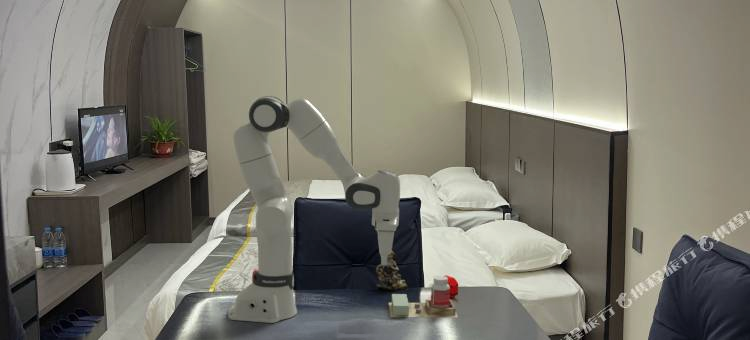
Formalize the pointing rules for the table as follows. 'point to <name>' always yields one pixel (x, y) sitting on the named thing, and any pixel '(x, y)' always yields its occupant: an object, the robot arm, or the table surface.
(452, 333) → the table surface
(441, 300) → the pill bottle
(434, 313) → the base
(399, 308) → the housing cover
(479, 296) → the table surface
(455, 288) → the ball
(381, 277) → the figurine
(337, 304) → the table surface
